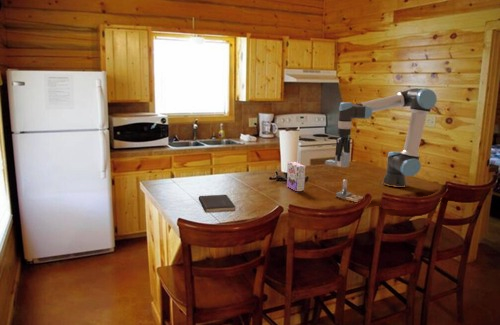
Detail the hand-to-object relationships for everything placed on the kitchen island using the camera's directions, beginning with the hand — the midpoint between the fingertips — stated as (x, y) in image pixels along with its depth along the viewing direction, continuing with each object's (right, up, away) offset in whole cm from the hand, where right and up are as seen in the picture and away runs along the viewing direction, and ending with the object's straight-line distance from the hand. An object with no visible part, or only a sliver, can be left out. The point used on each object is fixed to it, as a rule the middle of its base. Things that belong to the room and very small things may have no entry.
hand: (341, 165), depth 247 cm
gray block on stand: (-1, -19, -11) cm, 22 cm away
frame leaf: (+4, -20, -15) cm, 26 cm away
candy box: (-28, -15, +5) cm, 33 cm away
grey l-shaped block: (-3, 0, +2) cm, 4 cm away
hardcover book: (-75, -22, -29) cm, 83 cm away
